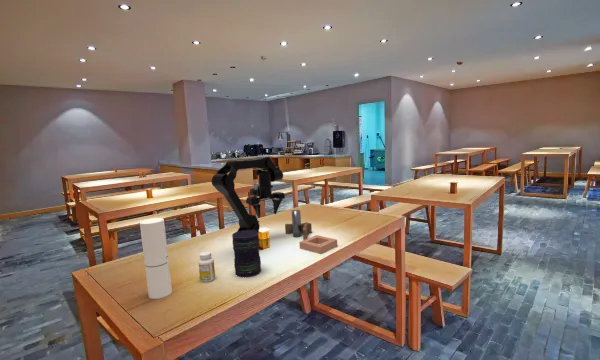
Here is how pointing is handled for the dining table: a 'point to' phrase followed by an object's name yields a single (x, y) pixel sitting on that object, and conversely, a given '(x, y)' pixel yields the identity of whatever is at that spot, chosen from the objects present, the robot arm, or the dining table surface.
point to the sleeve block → (318, 244)
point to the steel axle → (296, 223)
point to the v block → (305, 229)
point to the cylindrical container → (156, 257)
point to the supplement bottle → (206, 267)
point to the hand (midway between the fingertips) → (267, 215)
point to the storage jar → (246, 253)
